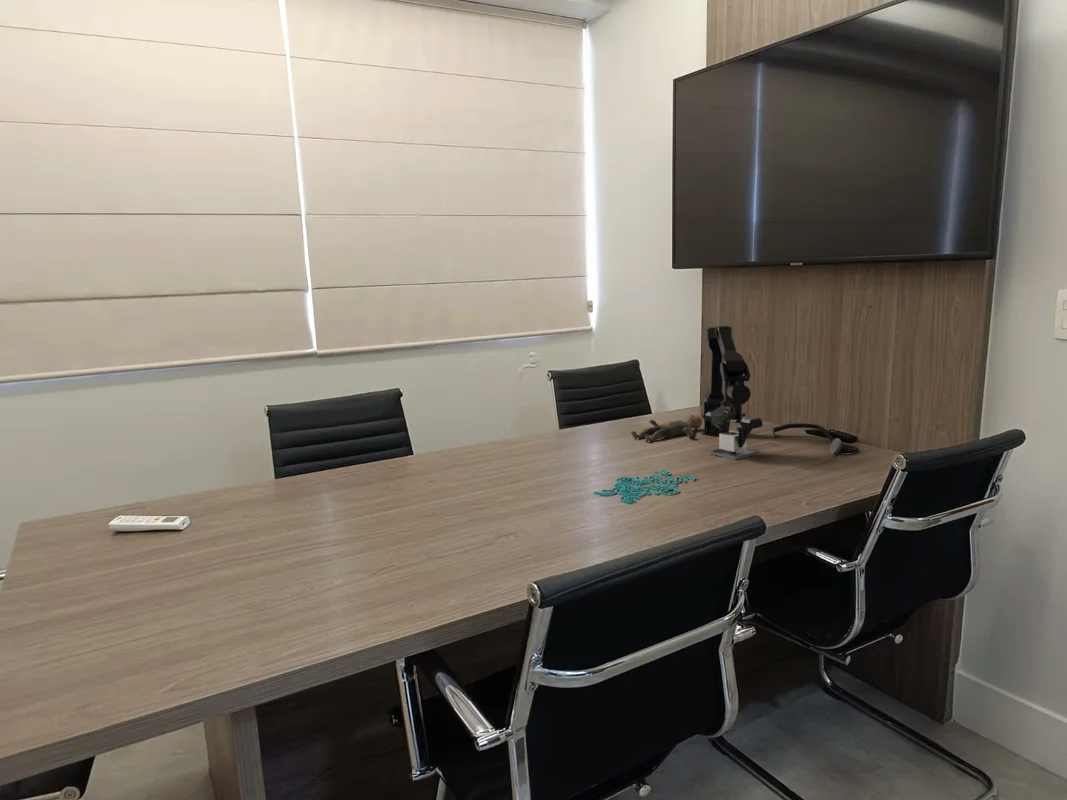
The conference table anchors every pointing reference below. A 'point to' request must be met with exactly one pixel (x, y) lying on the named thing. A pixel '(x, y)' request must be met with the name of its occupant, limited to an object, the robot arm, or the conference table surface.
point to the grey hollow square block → (730, 441)
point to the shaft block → (733, 453)
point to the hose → (835, 443)
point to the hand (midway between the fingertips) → (732, 445)
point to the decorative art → (631, 496)
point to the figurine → (670, 428)
